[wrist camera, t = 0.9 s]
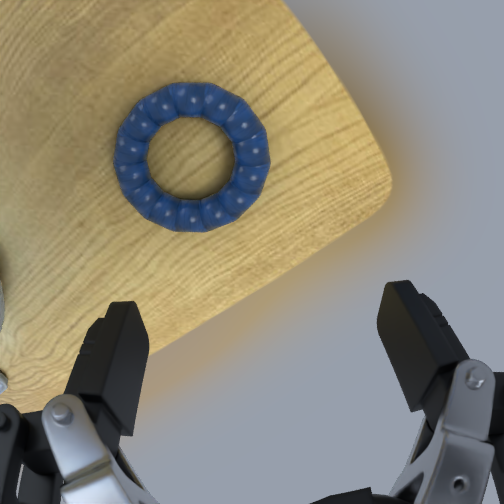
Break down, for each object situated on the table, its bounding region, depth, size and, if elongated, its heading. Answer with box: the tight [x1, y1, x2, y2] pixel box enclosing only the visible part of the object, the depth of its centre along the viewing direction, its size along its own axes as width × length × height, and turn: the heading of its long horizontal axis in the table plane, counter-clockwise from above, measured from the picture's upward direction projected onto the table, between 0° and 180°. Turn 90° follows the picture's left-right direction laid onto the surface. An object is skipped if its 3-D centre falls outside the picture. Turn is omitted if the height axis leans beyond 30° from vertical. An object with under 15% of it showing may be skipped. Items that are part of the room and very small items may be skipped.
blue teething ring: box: [113, 83, 271, 232], centre depth 20 cm, size 10×10×2 cm
